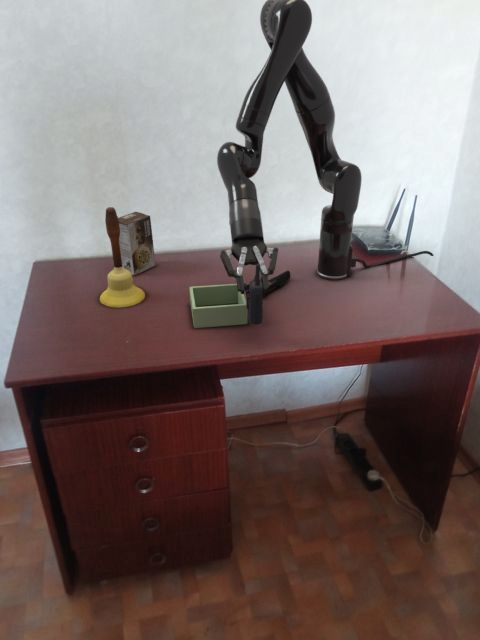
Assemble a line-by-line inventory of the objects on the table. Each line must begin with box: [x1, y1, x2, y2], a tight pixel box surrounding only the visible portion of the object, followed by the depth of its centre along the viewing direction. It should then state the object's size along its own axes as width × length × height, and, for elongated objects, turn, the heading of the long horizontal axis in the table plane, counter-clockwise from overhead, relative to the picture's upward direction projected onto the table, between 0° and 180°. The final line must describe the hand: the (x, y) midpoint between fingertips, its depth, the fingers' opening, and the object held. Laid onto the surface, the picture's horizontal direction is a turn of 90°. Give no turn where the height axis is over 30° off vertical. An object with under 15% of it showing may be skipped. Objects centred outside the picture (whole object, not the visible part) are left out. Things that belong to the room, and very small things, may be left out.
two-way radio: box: [244, 264, 264, 326], centre depth 127 cm, size 6×4×15 cm
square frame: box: [188, 283, 248, 329], centre depth 143 cm, size 14×13×6 cm
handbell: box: [99, 206, 146, 308], centre depth 145 cm, size 12×12×25 cm
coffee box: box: [118, 211, 156, 276], centre depth 164 cm, size 9×6×16 cm
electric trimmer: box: [263, 269, 291, 298], centre depth 157 cm, size 4×16×3 cm, turn 143°
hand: (253, 291), depth 126 cm, fingers closed on two-way radio, 4 cm apart
